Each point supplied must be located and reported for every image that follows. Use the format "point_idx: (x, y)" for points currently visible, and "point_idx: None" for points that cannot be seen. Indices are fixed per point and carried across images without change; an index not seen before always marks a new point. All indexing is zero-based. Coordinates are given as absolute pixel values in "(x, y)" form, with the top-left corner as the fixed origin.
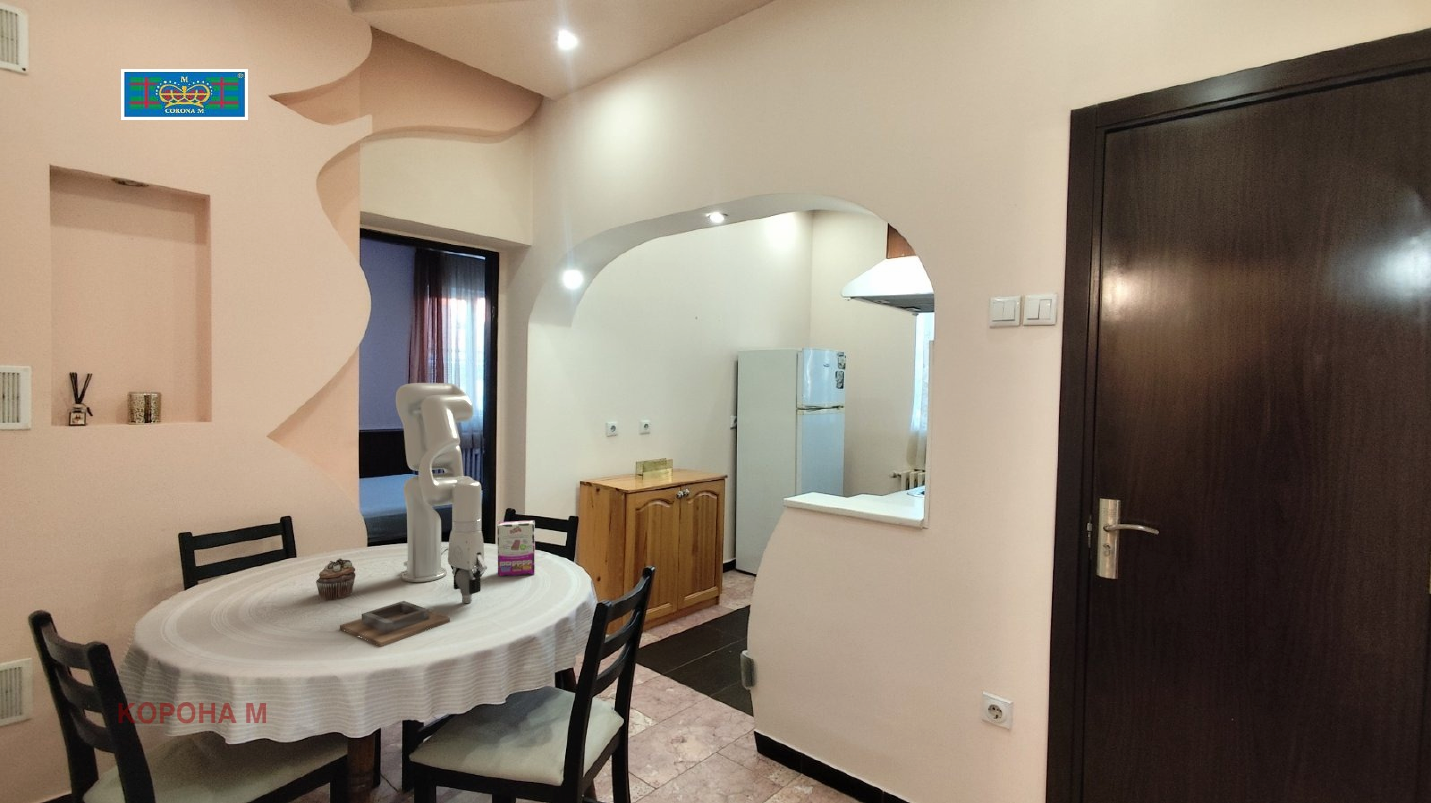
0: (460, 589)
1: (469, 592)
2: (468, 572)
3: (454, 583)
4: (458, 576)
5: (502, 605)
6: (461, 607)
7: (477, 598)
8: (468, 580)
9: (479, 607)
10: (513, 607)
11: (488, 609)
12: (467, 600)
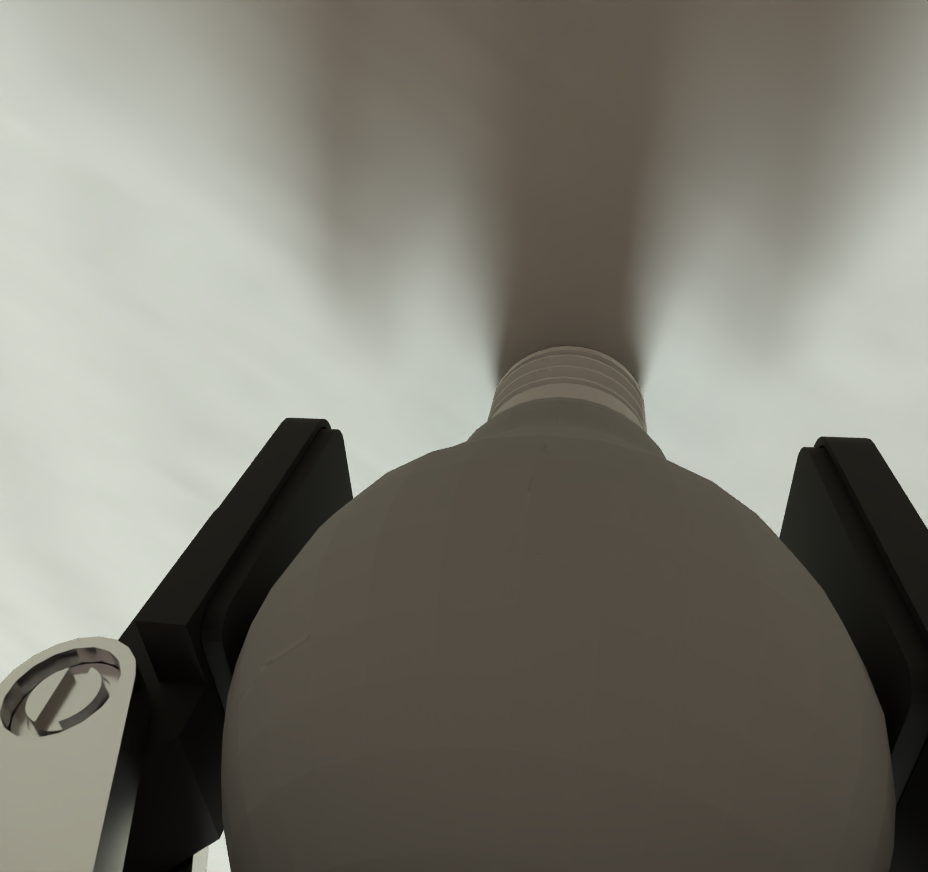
0: (587, 428)
1: (310, 424)
2: (252, 866)
3: (878, 511)
4: (519, 606)
5: (141, 539)
6: (457, 226)
7: None
8: (259, 611)
9: (261, 370)
10: (14, 552)
11: (116, 385)
12: (507, 394)
